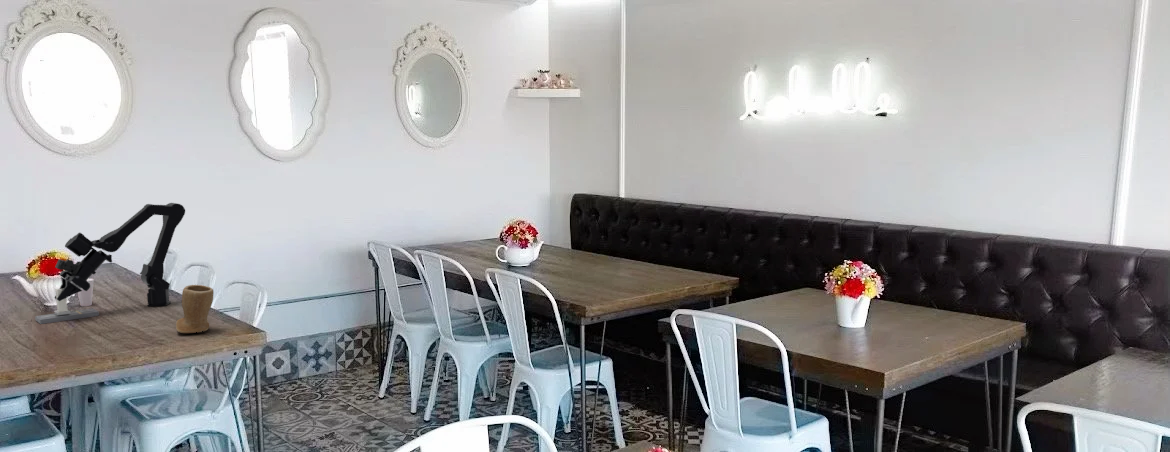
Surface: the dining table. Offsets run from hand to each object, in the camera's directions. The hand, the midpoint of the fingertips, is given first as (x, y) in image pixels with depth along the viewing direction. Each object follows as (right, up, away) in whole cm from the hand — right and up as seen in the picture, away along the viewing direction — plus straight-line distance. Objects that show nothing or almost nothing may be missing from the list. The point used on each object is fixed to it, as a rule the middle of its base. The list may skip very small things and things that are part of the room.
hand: (56, 299), depth 300 cm
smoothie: (-4, -4, +24) cm, 25 cm away
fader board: (+2, -7, +3) cm, 8 cm away
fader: (+1, -5, +2) cm, 5 cm away
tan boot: (+57, -9, -18) cm, 60 cm away
